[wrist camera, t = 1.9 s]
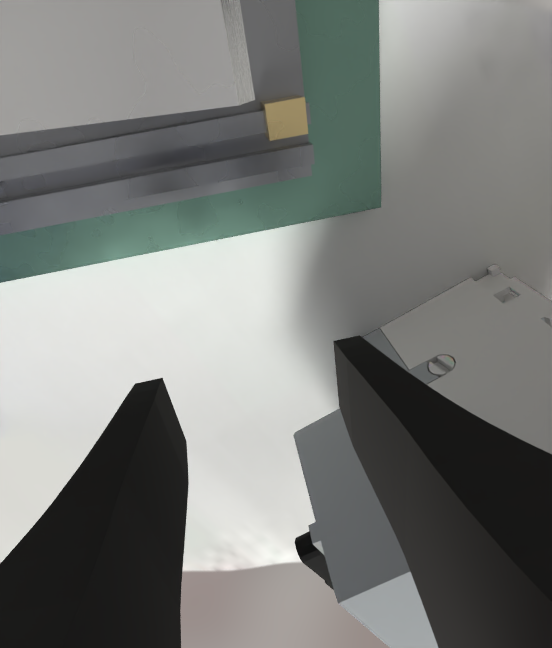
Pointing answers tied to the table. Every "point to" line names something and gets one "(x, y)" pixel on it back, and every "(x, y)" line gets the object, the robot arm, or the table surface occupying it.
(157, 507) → the robot arm
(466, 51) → the table surface
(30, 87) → the grey flat bar
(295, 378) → the table surface
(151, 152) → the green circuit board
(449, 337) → the circuit breaker
